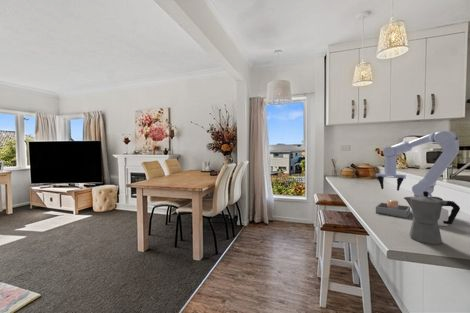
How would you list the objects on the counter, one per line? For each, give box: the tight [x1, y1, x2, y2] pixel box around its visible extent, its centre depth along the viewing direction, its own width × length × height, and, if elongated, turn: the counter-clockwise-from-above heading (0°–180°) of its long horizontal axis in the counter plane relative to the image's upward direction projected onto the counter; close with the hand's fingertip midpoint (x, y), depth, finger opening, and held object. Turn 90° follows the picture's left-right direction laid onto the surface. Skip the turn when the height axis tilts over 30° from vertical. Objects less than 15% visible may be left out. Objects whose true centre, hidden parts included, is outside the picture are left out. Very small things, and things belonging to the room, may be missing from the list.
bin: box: [375, 202, 411, 219], centre depth 113 cm, size 13×12×4 cm
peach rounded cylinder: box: [386, 199, 399, 210], centre depth 113 cm, size 5×5×6 cm
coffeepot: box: [403, 191, 461, 246], centre depth 78 cm, size 15×9×18 cm, turn 35°
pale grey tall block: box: [428, 195, 449, 227], centre depth 97 cm, size 7×7×12 cm
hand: (390, 189), depth 127 cm, fingers open, 7 cm apart
